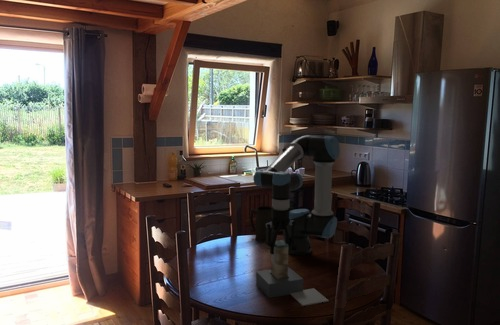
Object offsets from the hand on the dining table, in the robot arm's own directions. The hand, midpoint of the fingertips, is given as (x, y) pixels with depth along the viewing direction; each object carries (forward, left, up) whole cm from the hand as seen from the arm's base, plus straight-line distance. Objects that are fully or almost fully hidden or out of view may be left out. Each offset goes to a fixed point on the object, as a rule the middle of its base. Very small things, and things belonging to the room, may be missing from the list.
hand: (279, 259), depth 178 cm
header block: (0, 0, -13) cm, 13 cm away
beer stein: (-18, -65, -13) cm, 68 cm away
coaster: (-8, +12, -13) cm, 19 cm away
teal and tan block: (0, 0, -7) cm, 7 cm away
